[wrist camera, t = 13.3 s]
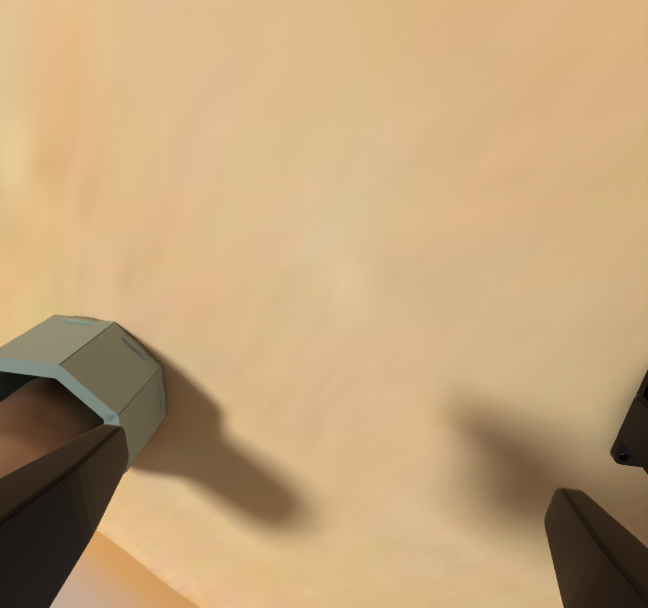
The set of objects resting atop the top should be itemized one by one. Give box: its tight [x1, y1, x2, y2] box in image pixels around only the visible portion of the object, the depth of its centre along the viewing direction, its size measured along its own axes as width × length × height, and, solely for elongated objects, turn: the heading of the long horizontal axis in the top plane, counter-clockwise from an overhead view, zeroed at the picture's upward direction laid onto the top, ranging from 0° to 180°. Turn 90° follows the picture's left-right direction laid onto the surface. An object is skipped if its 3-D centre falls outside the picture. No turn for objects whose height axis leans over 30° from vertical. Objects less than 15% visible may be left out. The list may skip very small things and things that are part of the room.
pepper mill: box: [0, 376, 104, 478], centre depth 19 cm, size 5×5×13 cm
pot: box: [0, 315, 167, 474], centre depth 23 cm, size 9×9×4 cm
